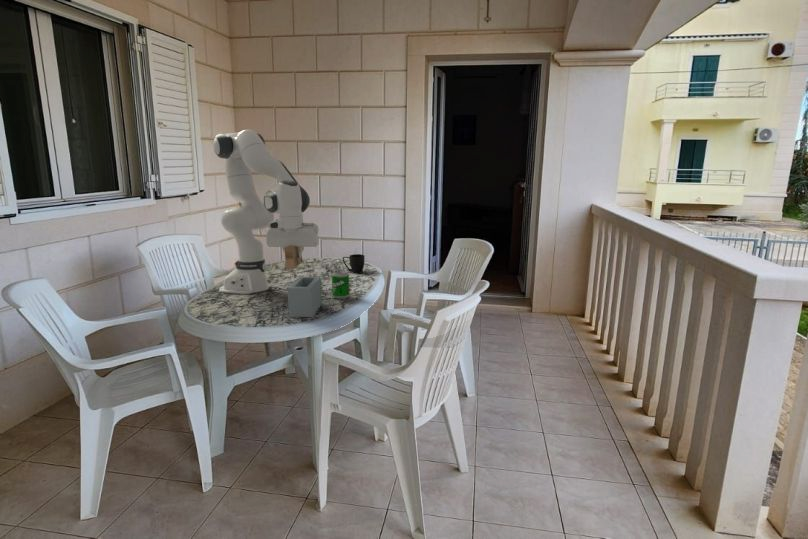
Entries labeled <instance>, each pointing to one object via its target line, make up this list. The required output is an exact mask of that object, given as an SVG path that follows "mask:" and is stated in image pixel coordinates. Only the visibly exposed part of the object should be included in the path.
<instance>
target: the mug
mask: <svg viewBox="0 0 808 539" xmlns="http://www.w3.org/2000/svg"><path fill="white" fill-rule="evenodd" d="M345 258H346V259H349V266H350V267H349V266H348V265H347V264H346V261H345ZM342 262H343V264H344V265H345V267H346V268H347V270H348V271H349V272H350V273H352V272H353V273H352V274H355V273H359V274H362V273H363V271H364V267H365V262H366V261H365V255H364V254H361V253H359V254H357V253H355V254H350V255H349V256H343V257H342ZM361 272H362V273H361Z"/></svg>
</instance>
